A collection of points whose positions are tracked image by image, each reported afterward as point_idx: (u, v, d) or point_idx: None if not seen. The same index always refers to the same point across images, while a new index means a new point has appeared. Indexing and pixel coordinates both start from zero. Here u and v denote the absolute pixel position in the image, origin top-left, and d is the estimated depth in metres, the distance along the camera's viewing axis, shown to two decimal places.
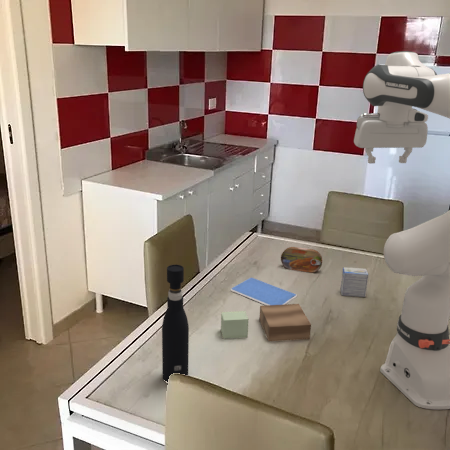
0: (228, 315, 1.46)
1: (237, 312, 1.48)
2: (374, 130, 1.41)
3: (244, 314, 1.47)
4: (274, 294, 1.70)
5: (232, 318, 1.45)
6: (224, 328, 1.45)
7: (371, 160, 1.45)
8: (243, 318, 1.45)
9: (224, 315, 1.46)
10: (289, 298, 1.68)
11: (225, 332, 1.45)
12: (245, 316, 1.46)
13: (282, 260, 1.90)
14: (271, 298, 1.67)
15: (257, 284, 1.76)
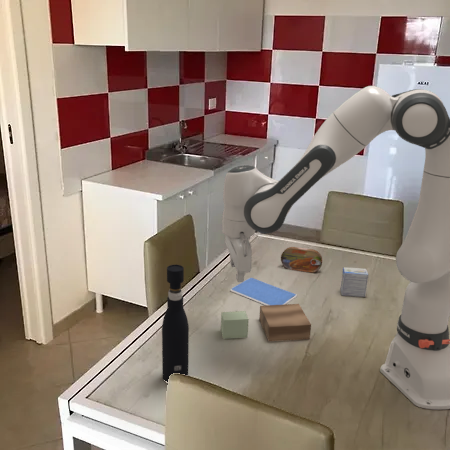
0: (228, 314, 1.47)
1: (237, 312, 1.48)
2: None
3: (244, 314, 1.47)
4: (274, 294, 1.70)
5: (232, 318, 1.45)
6: (224, 328, 1.45)
7: (243, 278, 1.37)
8: (243, 318, 1.45)
9: (224, 315, 1.46)
10: (289, 298, 1.68)
11: (225, 332, 1.45)
12: (245, 316, 1.46)
13: (282, 260, 1.90)
14: (271, 298, 1.67)
15: (257, 284, 1.76)
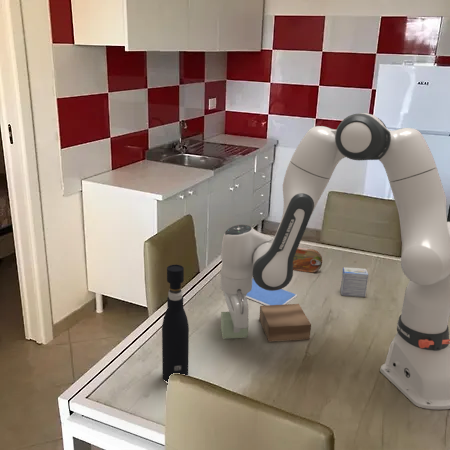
0: (228, 314, 1.46)
1: None
2: None
3: None
4: (274, 294, 1.70)
5: None
6: (224, 328, 1.45)
7: (239, 328, 1.44)
8: None
9: (224, 315, 1.46)
10: (289, 298, 1.68)
11: (225, 332, 1.45)
12: None
13: None
14: (271, 298, 1.67)
15: (256, 284, 1.76)
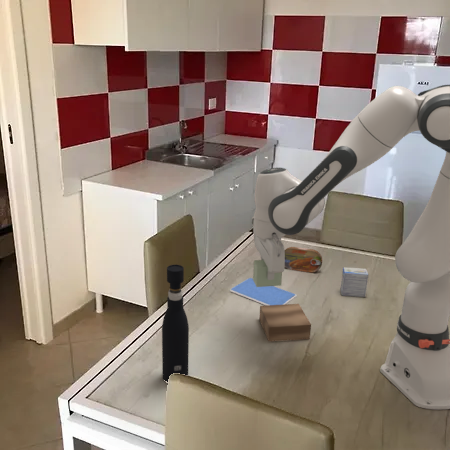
0: (261, 262, 1.43)
1: None
2: None
3: None
4: (274, 294, 1.70)
5: (265, 265, 1.41)
6: (258, 275, 1.41)
7: (273, 276, 1.40)
8: None
9: (257, 262, 1.42)
10: (289, 298, 1.68)
11: (259, 280, 1.41)
12: None
13: None
14: (271, 298, 1.67)
15: None
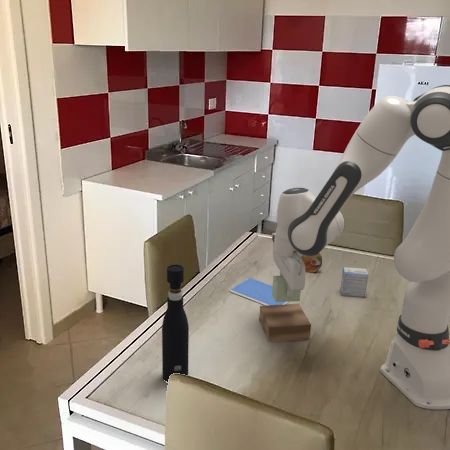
0: (281, 278, 1.46)
1: None
2: None
3: None
4: None
5: (285, 281, 1.44)
6: (277, 291, 1.44)
7: None
8: None
9: (277, 278, 1.46)
10: None
11: (278, 295, 1.45)
12: None
13: None
14: (271, 298, 1.67)
15: (256, 284, 1.76)
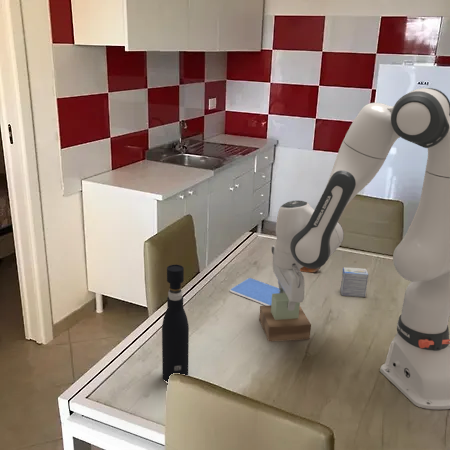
0: (280, 296, 1.48)
1: None
2: None
3: None
4: None
5: (283, 299, 1.46)
6: (276, 309, 1.46)
7: None
8: None
9: (275, 296, 1.48)
10: None
11: (277, 313, 1.47)
12: None
13: None
14: (271, 298, 1.67)
15: (256, 284, 1.76)
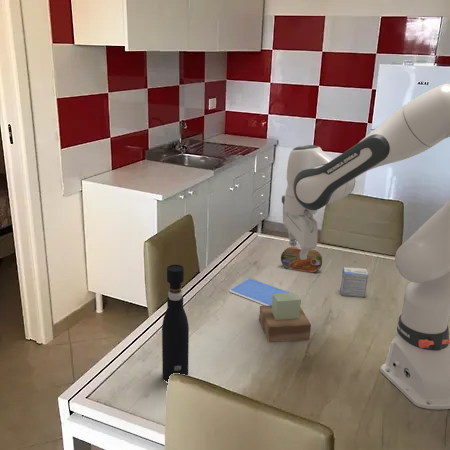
0: (280, 296, 1.48)
1: (288, 293, 1.50)
2: None
3: (295, 295, 1.49)
4: None
5: (284, 299, 1.46)
6: (277, 309, 1.46)
7: None
8: (295, 299, 1.47)
9: (276, 296, 1.48)
10: None
11: (278, 313, 1.47)
12: (297, 297, 1.48)
13: (282, 260, 1.90)
14: (270, 298, 1.67)
15: (256, 285, 1.76)
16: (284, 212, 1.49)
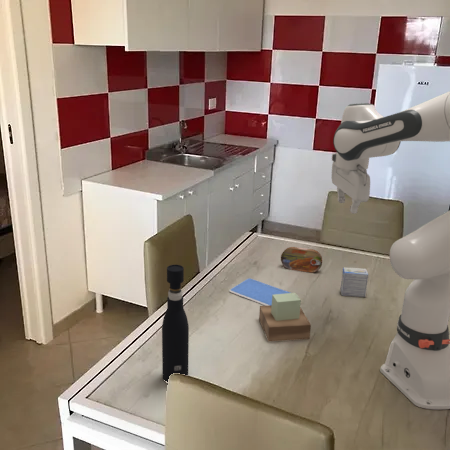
0: (280, 296, 1.48)
1: (288, 294, 1.49)
2: None
3: (295, 295, 1.49)
4: (273, 294, 1.70)
5: (284, 300, 1.46)
6: (277, 310, 1.46)
7: None
8: (295, 299, 1.46)
9: (276, 297, 1.47)
10: None
11: (278, 314, 1.46)
12: (297, 297, 1.48)
13: (282, 260, 1.90)
14: (270, 298, 1.67)
15: (255, 285, 1.76)
16: (333, 170, 1.55)
